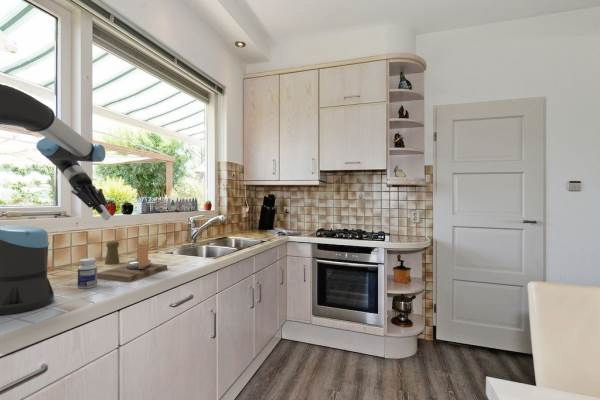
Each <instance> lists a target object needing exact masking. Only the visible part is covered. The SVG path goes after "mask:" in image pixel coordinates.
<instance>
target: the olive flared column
mask: <svg viewBox="0 0 600 400" xmlns="http://www.w3.org/2000/svg"><path fill="white" fill-rule="evenodd" d="M105 246H106V248H107V250H106V254H105V255H106V256H105V260H104V261H105V262H104V265H107V266H108V265H110V266H111V265H112V266H113V265H118V264H120V256H119V249H118V248H119V246H120V243H119V241H118V240H110V241H109V240H108V241H107V242H106V245H105Z"/></svg>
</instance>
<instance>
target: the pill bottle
mask: <svg viewBox="0 0 600 400" xmlns="http://www.w3.org/2000/svg"><path fill="white" fill-rule="evenodd" d="M96 260H97V259H96V258H95V257H88V258H82V259H80V260H79V264H80V265H79V266H78V267H77V288H78V289H82V290H84V289H92V288H94V287H96V286H97V285H98V279H97V273H98V265H97V264H96V262H97V261H96Z"/></svg>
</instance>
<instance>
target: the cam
mask: <svg viewBox="0 0 600 400" xmlns="http://www.w3.org/2000/svg"><path fill="white" fill-rule="evenodd" d="M136 250H137V251H136V257H135V259H132V260H128V261H127V264H126V265H127V268H128V269H144V268H148V267H150V266H151V263H152V261H151V259H149V243H148V242H137V248H136Z"/></svg>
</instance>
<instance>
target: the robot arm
mask: <svg viewBox="0 0 600 400" xmlns="http://www.w3.org/2000/svg"><path fill="white" fill-rule="evenodd" d="M0 125H4V126H13V127H20V128H24V129H25V130H27V131H29V132H33V133H38V134H39V135H41V136H43V137H42V138H40V139H38V140H37V142H36V145H35V146H36V149H37V150H38V151H39V152H40V154H41V155H42V156H43V157H44V158H46V159H48V161H50V162H51V163H52V164H53V165H54V166H55V167H56V168H57V169H58V170H59V171H60V173H61V174H62V175H63V176H64V178H65V179H66V181H67V182H68V183H69V185H70V186H71V188H72V190H71V193H72V194H73V195H75V196H76V197H77V198H78V199H79V200H80V201H82V203H84V204H85V205H86V207H88V208H90V209H91V208H92V211H96V212H97V213H98V214H99V215H100V217H102V220H103V221H108V220H109V219H110V218H111V217H112V214H110V212H109V210H108V209H107V207H106V206H107V204H108V201H107V200H106V197H105V195H104V193H103V189H102V188H96V186H95V185H94V184H93V180H92V179H91V177H90V176H89V175H88V173H87V172H86V171H85V169H84V168H83V167H82V166H81V164H80V163H79V162H86V163H87V162H89V163H90V162H91V163H103V162H104V161H105V158H106V149H105V146H104V145H102V144H100V143H91V142H90V141H89V140H88V139H86V138H85V137H83V136H82V135H81V134H80V133H78V132H77V131H76V130H74V129H73V128H71V126H69V125H68V124H67V123H65V122H64V121H62V120H61V119H60V118H58V117H57V116H56V115H55V111H54V110H53V109H52V108H51V107H50V106H49V105H48V104H46V103H44V102H43V101H41V99H38V98H37V97H35V96H33V95H32V94H30V93H28V92H26V91H24V90H23V89H19V88H18V87H16V86H13V85H9V84H5V83H1V82H0ZM49 244H50V242H49V234H48V231H47V230H45V228H41V227H37V226H28V225H11V224H10V225H9V224H8V225H0V316H2V315H3V316H4V315H13V314H14V315H15V314H21V313H25V312H28V311H29V312H30V311H35V310H37V309H39V308H44V307H46V306H48V305H50V304H52V303H53V302H54V300H55V292H54V290H53V288H52V285H51V283H50V280H49V278H48V261H49V259H48V258H49Z"/></svg>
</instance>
